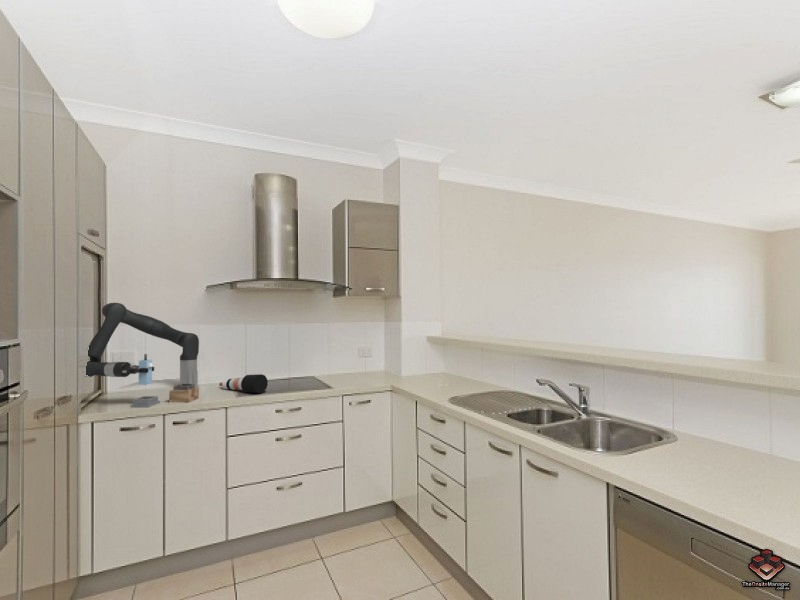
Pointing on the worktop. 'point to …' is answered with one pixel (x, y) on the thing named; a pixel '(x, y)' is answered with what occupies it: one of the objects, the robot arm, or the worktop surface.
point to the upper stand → (184, 393)
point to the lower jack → (145, 401)
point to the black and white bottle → (247, 383)
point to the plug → (145, 377)
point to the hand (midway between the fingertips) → (150, 369)
